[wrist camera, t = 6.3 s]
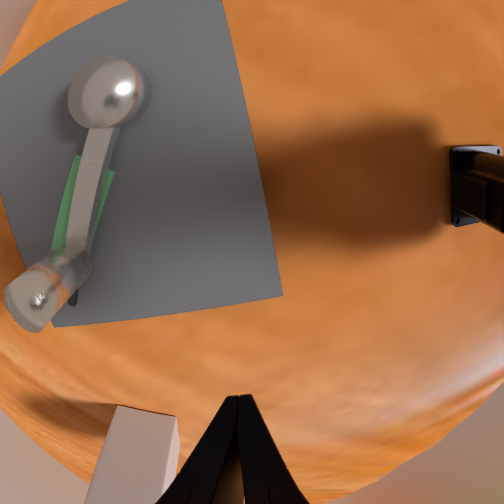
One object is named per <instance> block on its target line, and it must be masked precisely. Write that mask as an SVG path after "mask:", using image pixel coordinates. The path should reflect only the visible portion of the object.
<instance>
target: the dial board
mask: <svg viewBox="0 0 504 504" xmlns="http://www.w3.org/2000/svg"><path fill="white" fill-rule="evenodd" d="M103 55H113V56H117V57H119V58H121V59H123V60H125V61H127V62H129V63H131V64H133V65H134V66H136V67H138V68H140V69H141V70H143V71H144V72H145V74H146V75H147V76H148V78H149V81H150V84H151V98H150V101H149V104H148V107H147V109H146V110H145V112H144V113H143V114H142V116H141V117H140V118H139V119H138V120H136V121H135V122H134V123H132V124H130V125H128V126H126V127H122V128H121V129H120V132H119V135H118V138H117V141H116V144H115V148H114V151H113V154H112V158H111V161H110V165H109V168H108V172H107V176H106V179H105V183H104V187H103V191H102V196H101V200H100V204H99V209H98V214H97V218H96V223H95V228H94V234H93V239H92V245H91V251H90V261H91V273H90V275H89V277H88V278H87V279H86V280H85V281H84V283H83V284H82V285H81V286H80V287H79V290H78V302H77V304H76V306H75V307H72V306H70V305H68V300H67V301H66V302H65V303H64V304H63V306H62V307H61V308H60V309H59V310H58V311H57V312H56V314H55V315H54V316H53V317H52V318H51V319H50V320H51V322H52V324H53V326H54V327H55V328H56V327H67V326H78V325H88V324H98V323H107V322H115V321H124V320H132V319H140V318H148V317H155V316H163V315H170V314H177V313H184V312H190V311H197V310H204V309H210V308H216V307H222V306H228V305H234V304H240V303H246V302H252V301H257V300H263V299H268V298H274V297H279V296H283V292H282V286H281V281H280V275H279V269H278V264H277V258H276V253H275V248H274V242H273V237H272V232H271V226H270V221H269V216H268V211H267V205H266V200H265V195H264V190H263V185H262V180H261V175H260V170H259V165H258V160H257V155H256V150H255V145H254V141H253V136H252V131H251V126H250V122H249V117H248V112H247V108H246V103H245V98H244V94H243V89H242V85H241V80H240V76H239V71H238V67H237V62H236V58H235V54H234V49H233V45H232V41H231V36H230V32H229V28H228V24H227V20H226V15H225V11H224V7H223V3H222V0H129V1H127V2H124V3H122V4H120V5H117V6H115V7H113V8H110V9H108V10H106V11H104V12H102V13H99V14H97V15H95V16H93V17H91V18H89V19H87V20H85V21H83V22H82V23H80V24H78V25H76V26H74V27H72V28H71V29H69V30H67V31H65V32H64V33H62V34H60V35H58V36H57V37H55V38H54V39H52V40H50V41H49V42H47V43H46V44H44V45H43V46H41V47H39V48H38V49H36V50H35V51H34V52H32V53H31V54H29V55H28V56H26V57H25V58H24V59H22V60H21V61H20V62H18V63H17V64H16V65H14V66H13V67H12V68H10V69H9V70H8V71H7V72H5V73H4V74H3V75H2V76H0V193H1V197H2V201H3V204H4V208H5V211H6V215H7V218H8V221H9V224H10V227H11V230H12V233H13V236H14V239H15V242H16V244H17V247H18V250H19V252H20V255H21V257H22V260H23V262H24V265H25V267H26V270H27V269H28V268H30V267H31V266H32V265H33V264H35V263H36V262H37V261H39V260H40V259H41V258H43V257H44V256H45V255H46V254H48V253H49V252H51V251H52V250H53V249H55V248H56V247H57V246H59V245H60V244H61V243H63V242H65V241H66V236H67V229H68V222H69V215H70V209H71V204H72V198H73V193H74V188H75V183H76V179H77V174H78V170H79V166H80V162H81V158H82V154H83V150H84V146H85V143H86V139H87V136H88V132H89V129H90V128H86V127H83V126H81V125H80V124H78V123H77V122H76V121H75V120H74V118H73V117H72V115H71V113H70V110H69V107H68V92H69V88H70V85H71V82H72V80H73V78H74V76H75V75H76V73H77V72H78V71H79V70H80V68H81V67H82V66H83V65H85V64H86V63H87V62H89V61H90V60H92V59H94V58H96V57H99V56H103Z"/></svg>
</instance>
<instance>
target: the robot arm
mask: <svg viewBox="0 0 504 504" xmlns="http://www.w3.org/2000/svg"><path fill="white" fill-rule="evenodd" d="M455 151H456V155H455ZM449 154H450V171H451V223H452V225H454V226H455V227H460V226H464V225H469V224H473V223H478V222H482V223H484V224H486V225H488V226H490V227H491V228H493V229H495V230H497V231H499V232H500V233H502V234H504V156H502V150H501V148H500V147H499V146H455V147H451V148H450V152H449ZM456 219H457V222H456ZM180 472H181V473H180ZM180 472H179V473H178V474H177V476H176V477H175V479H174V480H173V482H172V483H171V484H170V486H169V487H168V489H167V490H166V491H165V492H164V494H163V495H162V496H161V497H160V498H159V499H158V501H157V502H156V503H155V504H243V501H244V498H245V504H310V503H309V502H308V501H307V500H306V498H305V497H304V495H303V494H302V493H301V491H300V490H299V488H298V487H297V485H296V483H295V481H294V480H293V478H292V476H291V474H290V472H289V470H288V469H287V467H286V465H285V463H284V461H283V459H282V457H281V455H280V453H279V451H278V449H277V447H276V445H275V443H274V441H273V439H272V436H271V434H270V432H269V430H268V428H267V426H266V424H265V422H264V420H263V418H262V415H261V413H260V411H259V409H258V407H257V405H256V403H255V400H254V398H253V396H252V395H251V394H244V395H240V396H238V395H233V396H227V397H226V398H225V400H224V402H223V403H222V405H221V407H220V408H219V410H218V412H217V413H216V415H215V417H214V418H213V420H212V421H211V423H210V425H209V426H208V428H207V430H206V431H205V433H204V434H203V436H202V437H201V439H200V441H199V442H198V444H197V445H196V447H195V448H194V450H193V452H192V453H191V455H190V456H189V458H188V459H187V461H186V462H185V464H184V465H183V467H182V468H181V470H180Z"/></svg>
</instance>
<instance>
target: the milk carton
mask: <svg viewBox="0 0 504 504" xmlns="http://www.w3.org/2000/svg"><path fill="white" fill-rule="evenodd" d="M179 450H180V442H179V434H178V425H177V418H176V417H174V416H168V415H162V414H157V413H152V412H147V411H142V410H137V409H133V408H128V407H124V406H119V405H118V406H117V408H116V411H115V413H114V416H113V419H112V421H111V424H110V427H109V430H108V432H107V435H106V438H105V441H104V444H103V446H102V449H101V452H100V455H99V458H98V461H97V464H96V467H95V470H94V473H93V476H92V480H91V483H90V486H89V489H88V493H87V496H86V499H85V503H84V504H155V503H156V502H157V501H158V499H159V498H160V497H161V496H162V495H163V494H164V492H165V491H166V490H167V489H168V487H169V486H170V484H171V483H172V482H173V480H174V479H175V475H176V468H177V462H178V456H179Z"/></svg>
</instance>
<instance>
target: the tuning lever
mask: <svg viewBox="0 0 504 504" xmlns="http://www.w3.org/2000/svg"><path fill="white" fill-rule="evenodd" d="M150 98H151V84H150V81H149V78H148V76H147V75H146V74H145V72H144V71H143V70H141V69H140V68H138V67H136V66H134V65H133V64H131V63H129V62H127V61H125V60H123V59H121V58H119V57H117V56H113V55H103V56H99V57H96V58H94V59H92V60H90V61H89V62H87V63H86V64H85V65H83V66H82V67H81V68H80V70H79V71H78V72H77V73H76V75H75V76H74V78H73V80H72V82H71V85H70V88H69V92H68V107H69V110H70V113H71V115H72V117H73V118H74V120H75V121H76V122H77V123H78V124H80V125H81V126H83V127H86V128H90V129H89V132H88V136H87V139H86V143H85V146H84V150H83V154H82V158H81V162H80V166H79V170H78V174H77V179H76V183H75V188H74V193H73V198H72V204H71V209H70V215H69V222H68V229H67V236H66V241H65V242H63V243H61V244H60V245H59V246H57V247H56V248H55V249H53V250H52V251H51V252H49V253H48V254H46V255H45V256H44V257H43V258H41V259H40V260H39V261H37V262H36V263H35V264H33V265H32V266H31V267H30V268H28V269H27V270H26V271H25V272H23V273H22V274H21V275H20V276H18V277H17V278H16V279H15V280H14V281H12V282H11V283H10V284H9V285H8V286H7V287H6V288H5V292H4V299H5V303H6V306H7V309H8V311H9V313H10V314H11V316H12V317H13V319H14V320H15V321H16V322H17V323H18V324H19V325H20V326H21V327H22V328H24V329H25V330H27V331H29V332H33V333H37V332H40V331H41V330H42V329H43V328H44V327H45V325H46V324H47V323H48V322H49V321H50V319H51V318H52V317H53V316H54V315H55V314H56V312H57V311H58V310H59V309H60V308H61V307H62V306H63V304H64V303H65V302H66V301H67V300H68V305H70V306H72V307H75V306H76V304H77V302H78V290H79V287H80V286H81V285H82V284H83V283H84V281H85V280H86V279H87V278H88V277H89V275H90V273H91V261H90V251H91V245H92V239H93V234H94V228H95V223H96V218H97V214H98V209H99V204H100V200H101V196H102V191H103V187H104V183H105V179H106V176H107V172H108V168H109V165H110V161H111V158H112V154H113V151H114V148H115V144H116V141H117V138H118V135H119V132H120V129H121V128H122V127H126V126H128V125H130V124H132V123H134V122H135V121H136V120H138V119H139V118H140V117H141V116H142V114H143V113H144V112H145V110H146V109H147V107H148V104H149V101H150Z"/></svg>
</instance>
